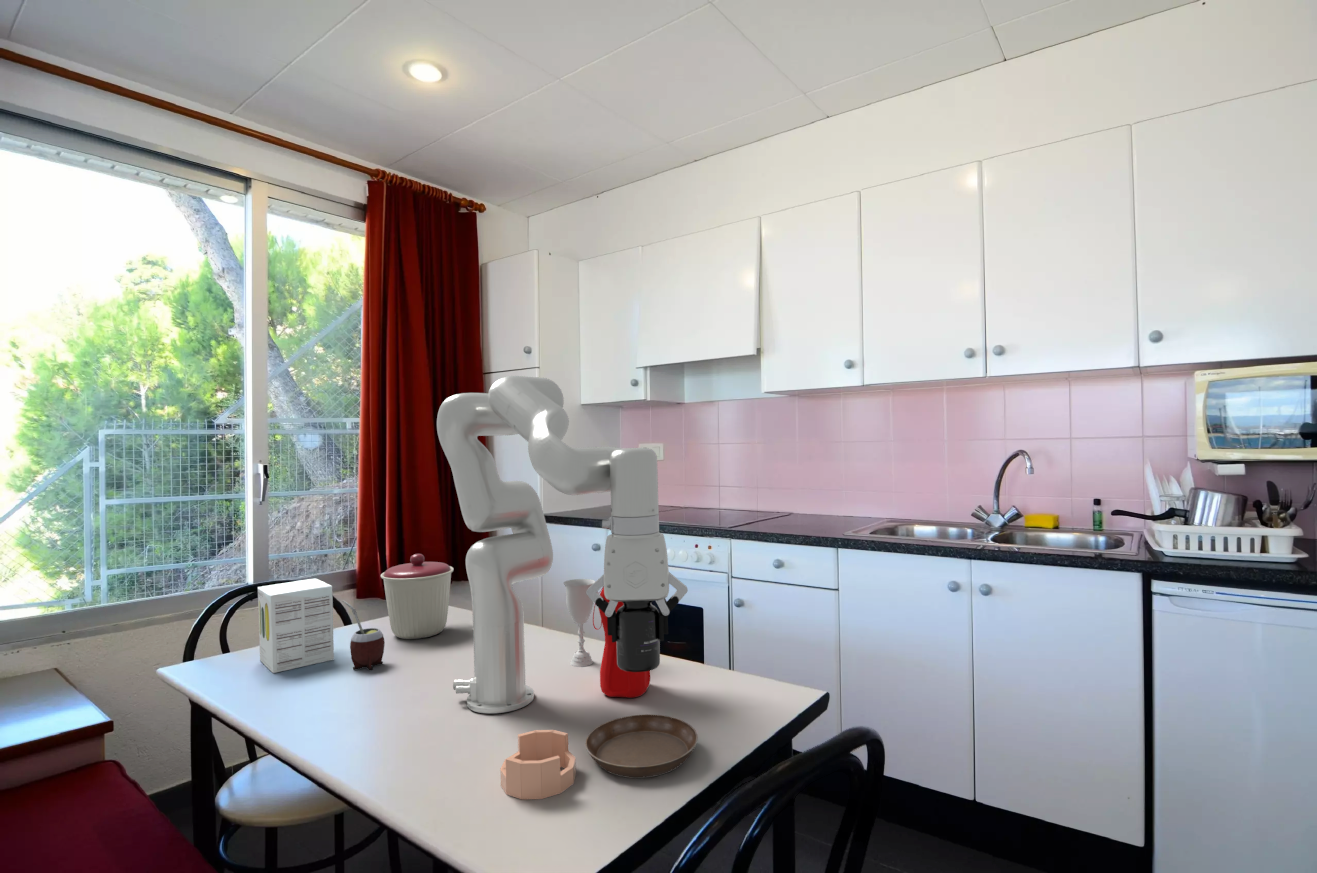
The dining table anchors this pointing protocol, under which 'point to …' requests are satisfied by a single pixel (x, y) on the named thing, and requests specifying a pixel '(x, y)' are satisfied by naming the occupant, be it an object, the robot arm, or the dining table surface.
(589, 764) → the dining table surface
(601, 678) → the water bottle
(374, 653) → the mate gourd
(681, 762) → the plant saucer
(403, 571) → the canister
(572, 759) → the holder cup
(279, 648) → the supplement box
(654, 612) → the supplement bottle
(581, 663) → the chalice
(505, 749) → the dining table surface
